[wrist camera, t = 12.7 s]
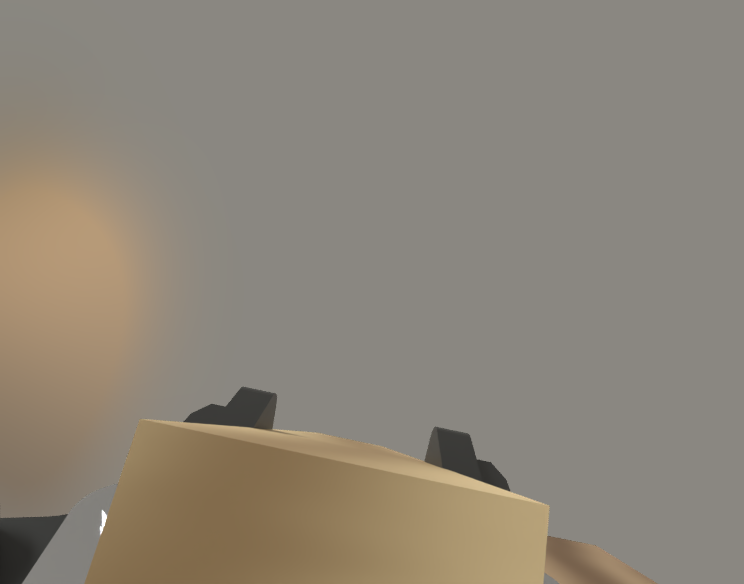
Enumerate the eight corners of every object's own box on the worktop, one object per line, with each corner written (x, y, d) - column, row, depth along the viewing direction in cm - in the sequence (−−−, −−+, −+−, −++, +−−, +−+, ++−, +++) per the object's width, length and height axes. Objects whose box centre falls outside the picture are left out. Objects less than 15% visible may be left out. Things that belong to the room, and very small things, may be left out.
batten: (-17, 883, 3) (139, 418, 4) (304, 492, 24) (317, 432, 25) (509, 1006, 3) (550, 506, 4) (370, 506, 24) (381, 446, 25)
